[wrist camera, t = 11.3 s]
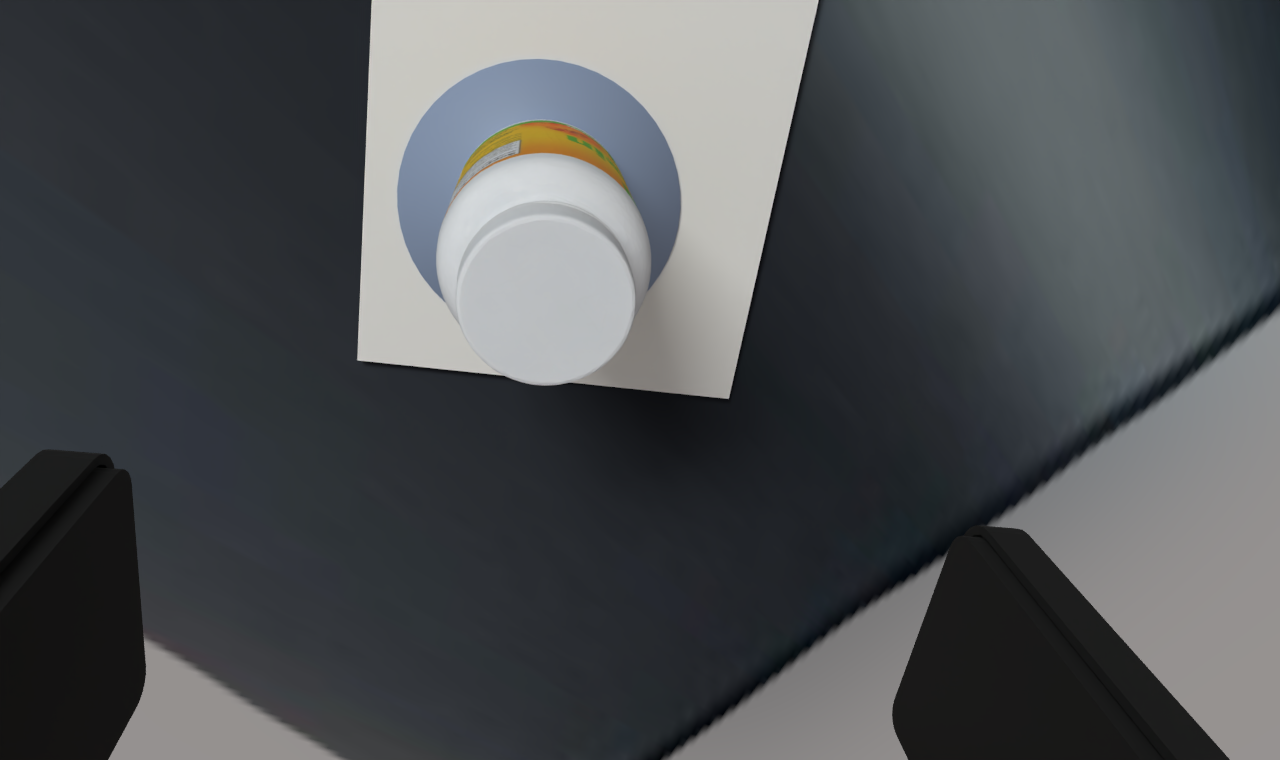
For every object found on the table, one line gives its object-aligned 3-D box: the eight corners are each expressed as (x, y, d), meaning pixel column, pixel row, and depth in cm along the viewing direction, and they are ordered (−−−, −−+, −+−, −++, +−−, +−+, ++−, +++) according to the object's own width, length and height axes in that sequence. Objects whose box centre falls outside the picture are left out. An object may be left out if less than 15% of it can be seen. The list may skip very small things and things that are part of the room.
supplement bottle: (659, 216, 29) (717, 320, 20) (532, 316, 29) (533, 457, 21) (553, 79, 26) (565, 126, 18) (420, 190, 27) (367, 288, 19)
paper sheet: (384, -278, 23) (382, -282, 22) (854, -173, 25) (859, -175, 25) (359, 357, 30) (356, 361, 29) (727, 395, 32) (729, 399, 32)
